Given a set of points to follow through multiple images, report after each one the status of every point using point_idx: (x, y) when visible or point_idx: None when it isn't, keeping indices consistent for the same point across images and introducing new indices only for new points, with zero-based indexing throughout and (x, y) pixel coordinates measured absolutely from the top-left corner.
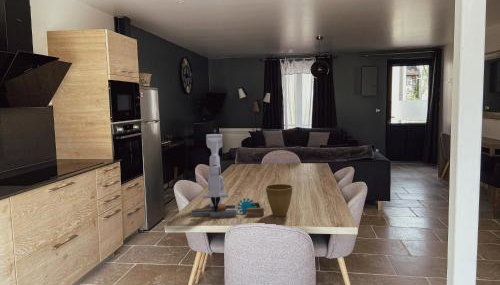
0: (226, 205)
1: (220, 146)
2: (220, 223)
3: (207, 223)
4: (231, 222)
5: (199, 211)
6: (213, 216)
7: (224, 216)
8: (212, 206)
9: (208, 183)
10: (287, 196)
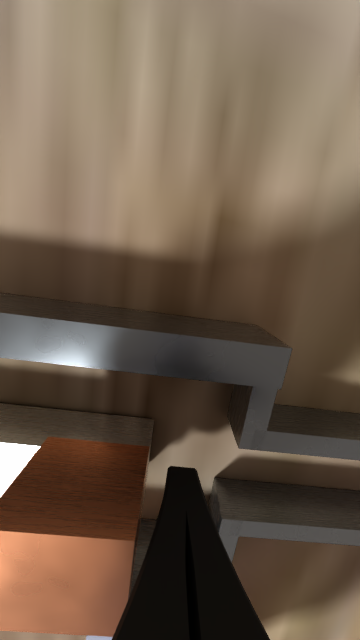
0: None
1: None
2: (178, 21)
3: (354, 91)
4: (9, 18)
5: (355, 515)
6: (232, 325)
7: (94, 305)
8: None
9: None
10: None
